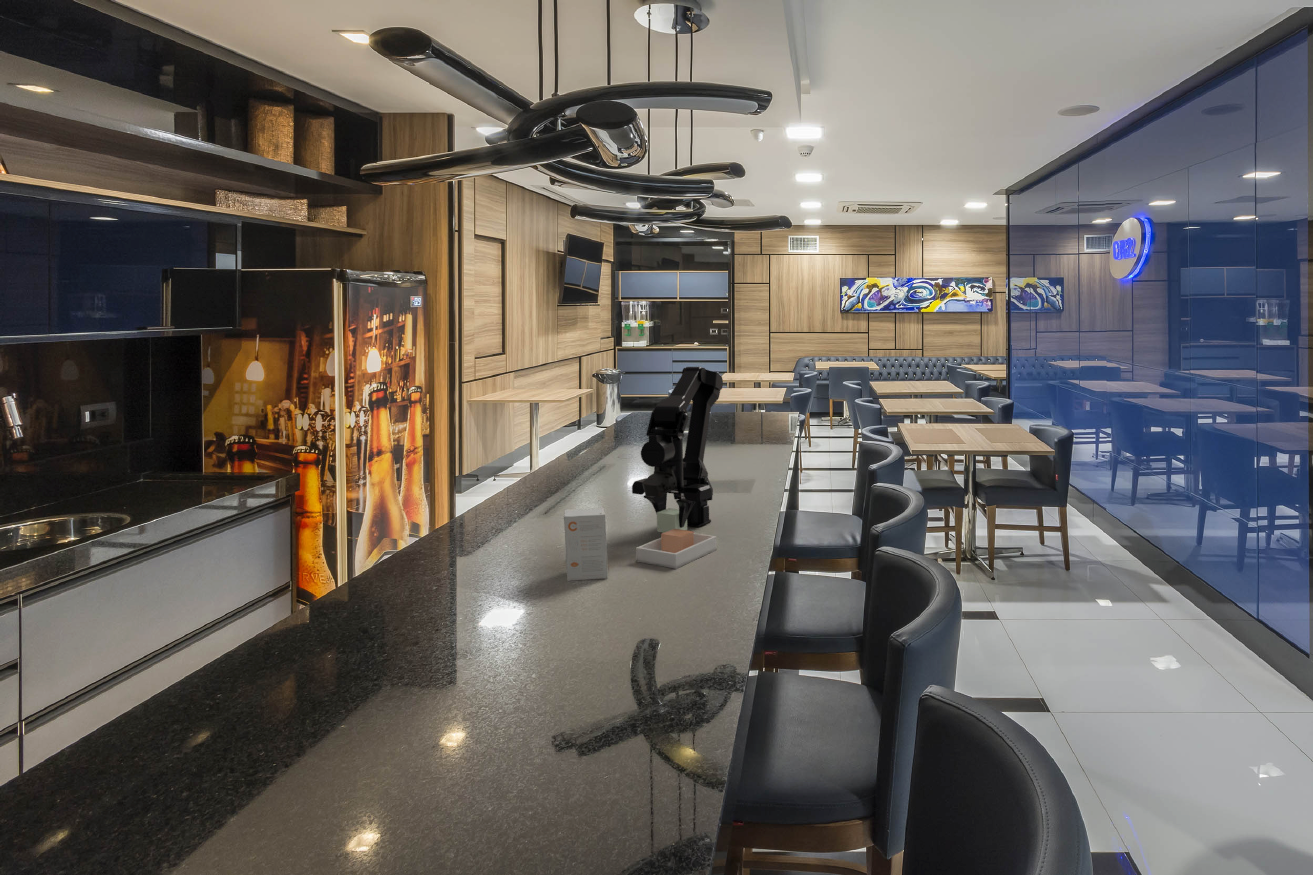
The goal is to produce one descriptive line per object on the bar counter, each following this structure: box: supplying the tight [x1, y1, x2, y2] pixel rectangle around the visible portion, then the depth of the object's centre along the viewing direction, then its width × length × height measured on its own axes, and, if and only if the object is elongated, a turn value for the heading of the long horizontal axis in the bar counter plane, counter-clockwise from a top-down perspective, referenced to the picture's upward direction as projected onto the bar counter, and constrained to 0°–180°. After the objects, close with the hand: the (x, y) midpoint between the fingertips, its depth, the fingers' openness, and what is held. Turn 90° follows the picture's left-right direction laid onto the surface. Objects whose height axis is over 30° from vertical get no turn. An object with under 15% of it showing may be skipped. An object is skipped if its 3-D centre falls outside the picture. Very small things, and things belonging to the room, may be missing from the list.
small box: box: [563, 507, 609, 582], centre depth 162 cm, size 8×6×13 cm
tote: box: [635, 532, 718, 570], centre depth 175 cm, size 10×16×3 cm, turn 145°
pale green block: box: [656, 507, 688, 533], centre depth 189 cm, size 5×5×4 cm
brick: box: [660, 529, 695, 553], centre depth 175 cm, size 5×5×4 cm
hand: (672, 526), depth 189 cm, fingers closed on pale green block, 5 cm apart
